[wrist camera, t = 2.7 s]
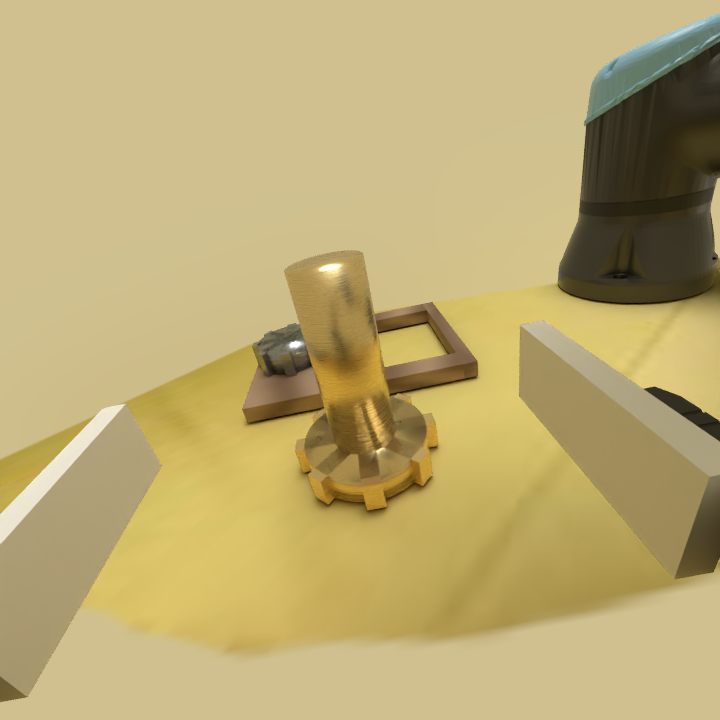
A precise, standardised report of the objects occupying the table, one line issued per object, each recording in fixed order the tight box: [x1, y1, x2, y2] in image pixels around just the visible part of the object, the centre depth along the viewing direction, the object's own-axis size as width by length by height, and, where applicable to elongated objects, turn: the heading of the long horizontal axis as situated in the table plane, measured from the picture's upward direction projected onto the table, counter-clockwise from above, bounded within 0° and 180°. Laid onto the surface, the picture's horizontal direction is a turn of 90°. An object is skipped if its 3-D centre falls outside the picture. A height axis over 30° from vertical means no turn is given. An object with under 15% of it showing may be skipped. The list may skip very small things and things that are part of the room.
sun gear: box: [252, 323, 312, 377], centre depth 39 cm, size 8×8×2 cm
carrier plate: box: [242, 302, 478, 423], centre depth 39 cm, size 21×16×2 cm
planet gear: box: [284, 251, 438, 511], centre depth 23 cm, size 10×10×14 cm
